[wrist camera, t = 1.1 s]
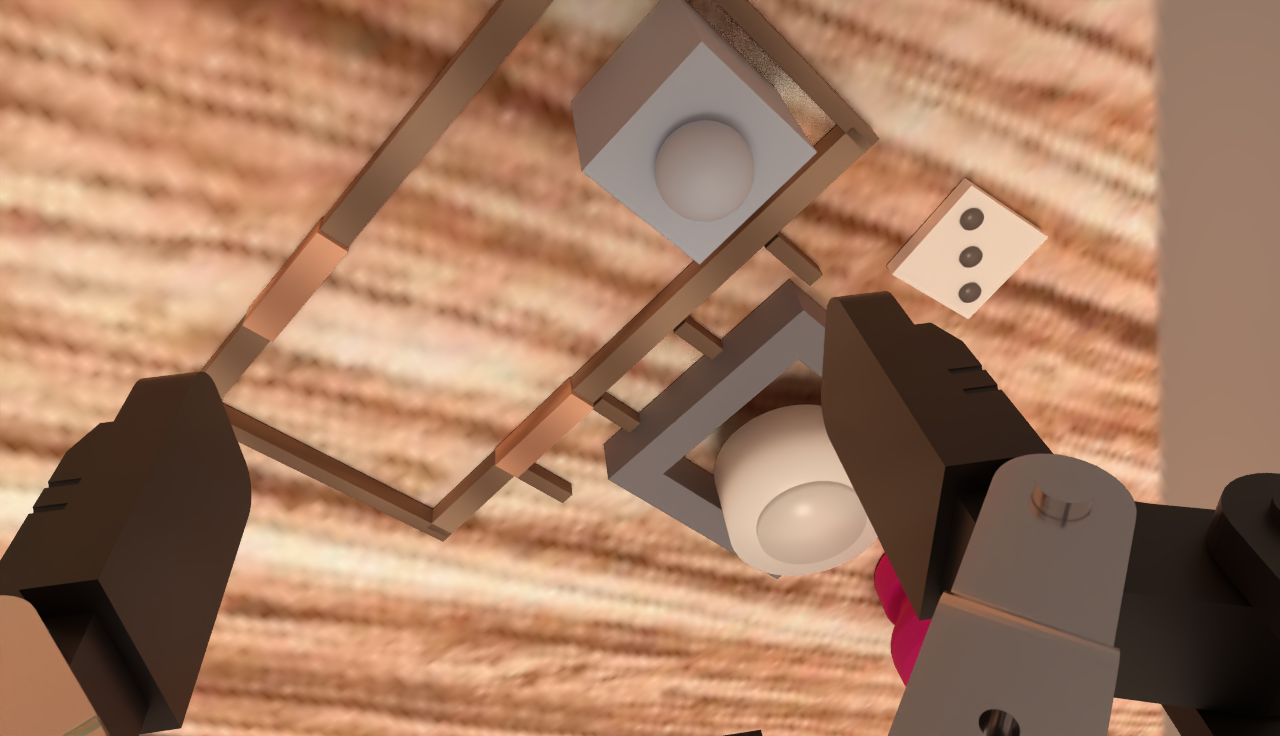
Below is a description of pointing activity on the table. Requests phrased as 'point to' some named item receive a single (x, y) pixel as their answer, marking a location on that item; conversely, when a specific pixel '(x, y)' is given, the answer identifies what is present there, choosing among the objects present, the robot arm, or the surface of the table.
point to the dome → (789, 495)
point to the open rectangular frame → (588, 386)
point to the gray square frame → (713, 409)
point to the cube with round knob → (686, 130)
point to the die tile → (966, 249)
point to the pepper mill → (900, 619)
